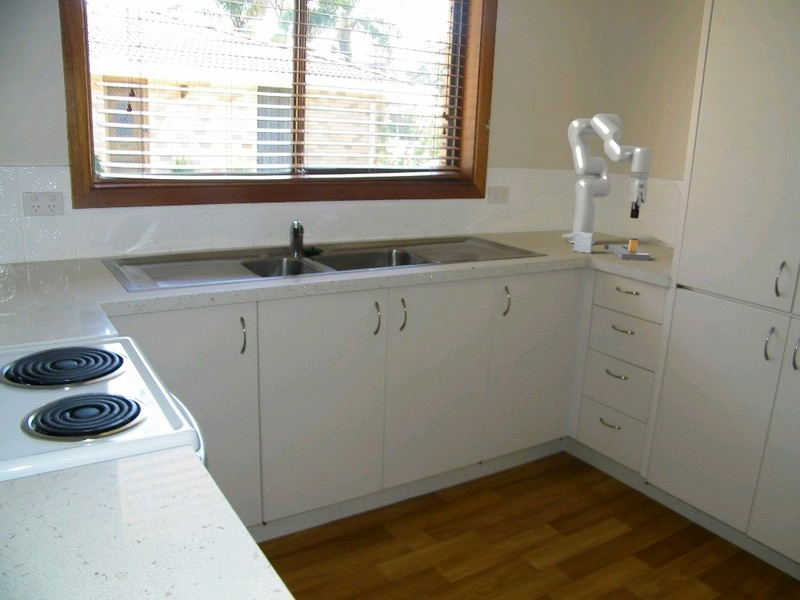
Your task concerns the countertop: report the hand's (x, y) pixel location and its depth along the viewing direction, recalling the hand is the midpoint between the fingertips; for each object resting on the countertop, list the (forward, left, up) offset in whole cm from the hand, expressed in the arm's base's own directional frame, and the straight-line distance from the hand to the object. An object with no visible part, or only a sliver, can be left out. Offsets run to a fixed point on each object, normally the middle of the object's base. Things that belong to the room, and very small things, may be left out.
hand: (634, 218), depth 311 cm
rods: (0, +17, -17) cm, 24 cm away
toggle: (0, -4, -17) cm, 17 cm away
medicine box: (-20, +4, -17) cm, 27 cm away
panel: (0, +2, -17) cm, 17 cm away
